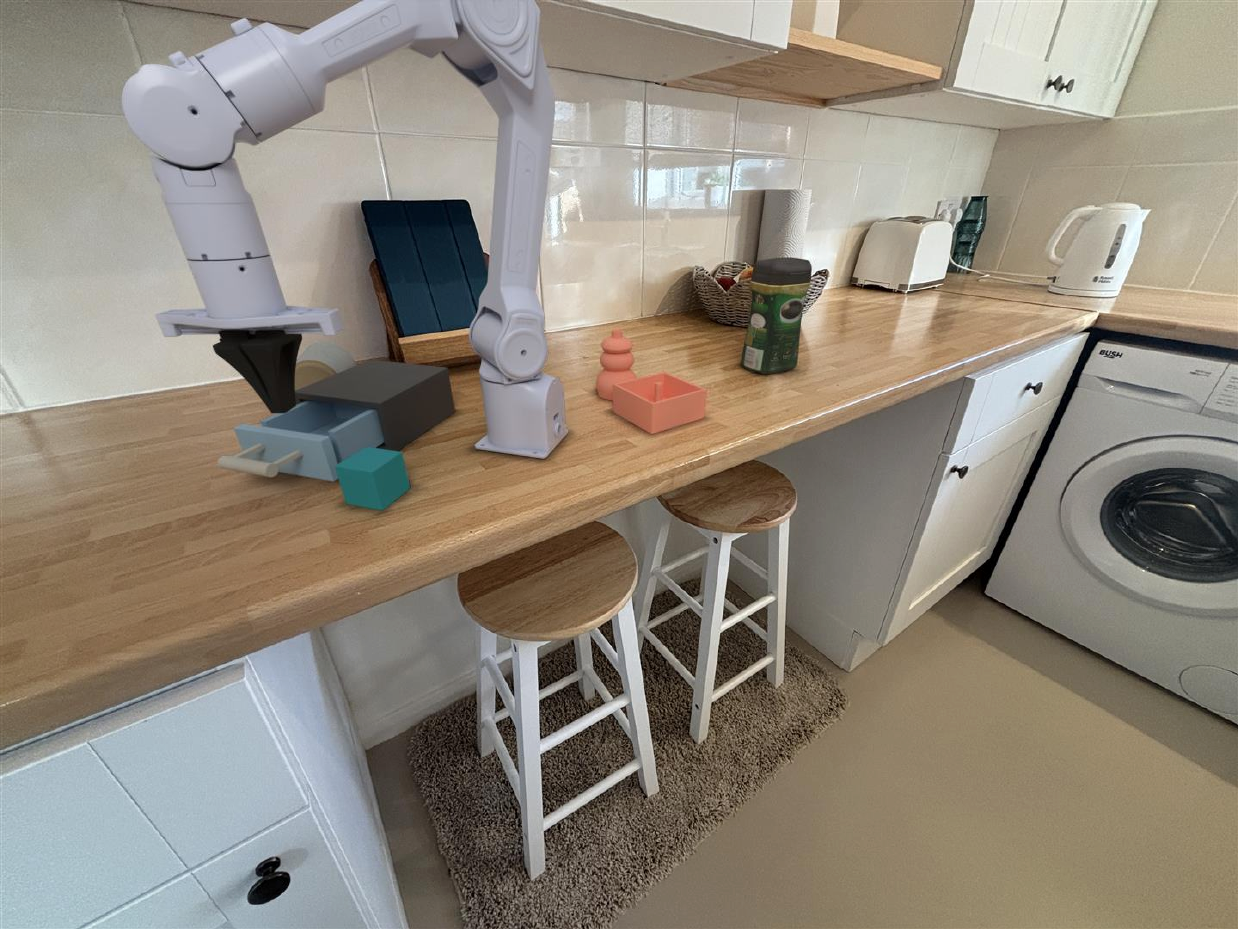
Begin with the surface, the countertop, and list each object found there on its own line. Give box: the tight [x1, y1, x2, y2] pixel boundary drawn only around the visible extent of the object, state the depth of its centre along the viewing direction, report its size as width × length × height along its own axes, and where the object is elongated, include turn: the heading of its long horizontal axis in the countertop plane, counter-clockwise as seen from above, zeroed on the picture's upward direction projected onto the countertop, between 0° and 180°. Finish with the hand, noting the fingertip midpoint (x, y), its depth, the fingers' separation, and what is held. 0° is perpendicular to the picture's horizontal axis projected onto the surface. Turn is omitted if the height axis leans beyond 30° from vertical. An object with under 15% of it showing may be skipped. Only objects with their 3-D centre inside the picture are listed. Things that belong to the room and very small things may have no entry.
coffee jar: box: [740, 256, 813, 375], centre depth 85 cm, size 10×8×19 cm
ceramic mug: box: [295, 341, 358, 391], centre depth 74 cm, size 11×8×8 cm
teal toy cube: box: [335, 447, 411, 511], centre depth 50 cm, size 4×4×4 cm
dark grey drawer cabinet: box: [295, 359, 456, 452], centre depth 65 cm, size 14×13×7 cm
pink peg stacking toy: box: [595, 329, 708, 435], centre depth 71 cm, size 18×10×10 cm, turn 35°
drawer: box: [217, 400, 384, 482], centre depth 55 cm, size 17×11×5 cm
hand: (283, 409), depth 47 cm, fingers closed
